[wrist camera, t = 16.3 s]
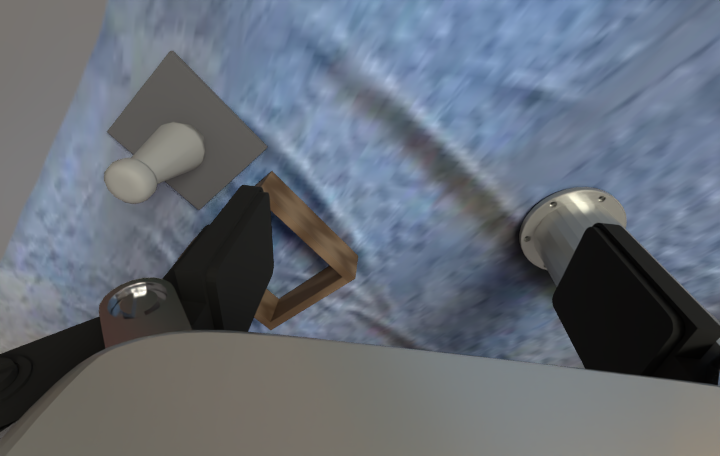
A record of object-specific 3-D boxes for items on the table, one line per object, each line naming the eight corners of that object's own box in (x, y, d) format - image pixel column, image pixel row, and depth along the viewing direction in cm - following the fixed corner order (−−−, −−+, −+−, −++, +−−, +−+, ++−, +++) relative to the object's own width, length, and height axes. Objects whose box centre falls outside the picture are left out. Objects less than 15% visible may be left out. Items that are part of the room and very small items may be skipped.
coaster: (267, 146, 45) (266, 148, 45) (200, 207, 51) (199, 210, 50) (172, 50, 40) (170, 51, 39) (110, 130, 45) (106, 131, 45)
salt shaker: (207, 170, 47) (150, 223, 36) (162, 151, 46) (89, 200, 35) (216, 129, 44) (157, 173, 33) (168, 108, 43) (91, 147, 32)
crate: (358, 256, 53) (355, 278, 49) (279, 306, 60) (270, 330, 56) (271, 170, 47) (259, 188, 43) (194, 238, 54) (177, 258, 49)
